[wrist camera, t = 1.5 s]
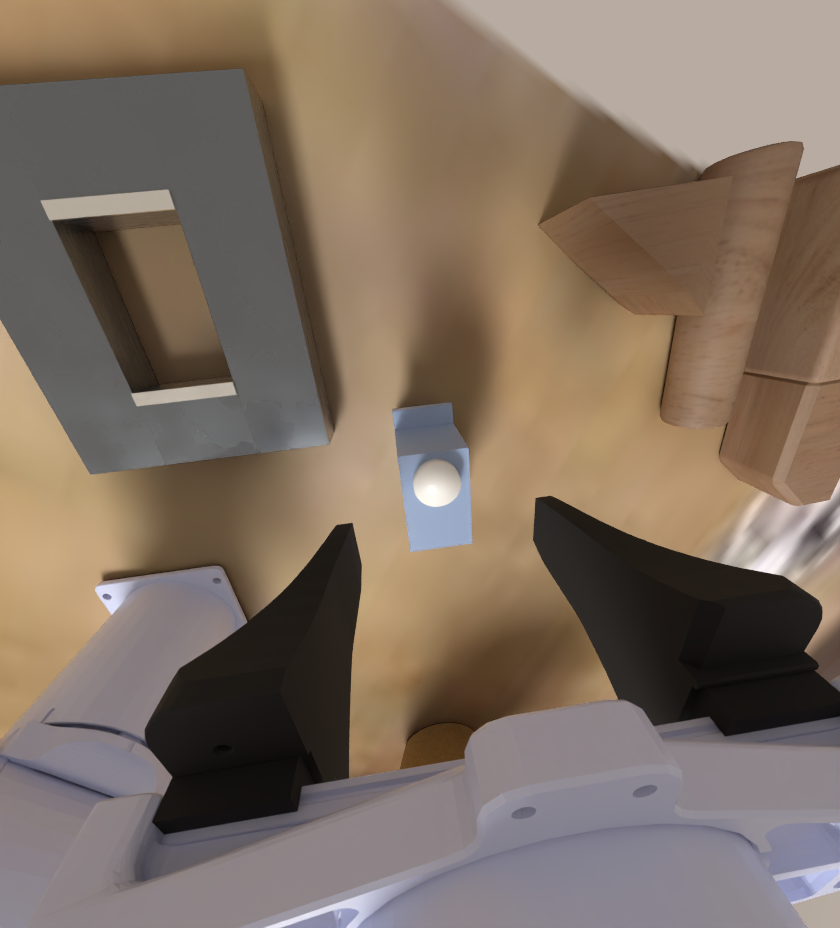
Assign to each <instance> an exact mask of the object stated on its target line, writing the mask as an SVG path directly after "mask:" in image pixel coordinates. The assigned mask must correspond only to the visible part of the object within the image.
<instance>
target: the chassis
mask: <svg viewBox="0 0 840 928" xmlns="http://www.w3.org/2000/svg"><path fill="white" fill-rule="evenodd" d="M175 224H181V225H182V228H183V231H184V234H185V237H186V240H187V243H188V246H189V249H190V252H191V255H192V258H193V261H194V264H195V267H196V270H197V273H198V276H199V279H200V282H201V285H202V288H203V291H204V294H205V297H206V301H207V304H208V307H209V310H210V313H211V316H212V319H213V322H214V325H215V328H216V331H217V334H218V337H219V340H220V343H221V346H222V349H223V352H224V355H225V358H226V361H227V364H228V367H229V370H230V373H231V376H229V377H220V378H211V379H203V380H194V381H185V382H176V383H168V384H158V382H157V380H156V377H155V375H154V373H153V370H152V368H151V366H150V363H149V361H148V359H147V356H146V354H145V352H144V349H143V347H142V345H141V342H140V340H139V338H138V335H137V333H136V331H135V328H134V326H133V324H132V321H131V319H130V317H129V314H128V312H127V310H126V307H125V305H124V303H123V300H122V298H121V296H120V293H119V291H118V289H117V286H116V284H115V282H114V279H113V277H112V275H111V272H110V270H109V268H108V265H107V263H106V261H105V258H104V256H103V254H102V251H101V249H100V247H99V244H98V242H97V240H96V237H95V235H94V233H93V232H99V231H110V230H121V229H131V228H142V227H153V226H164V225H175ZM0 320H1V321H2V323H3V325H4V327H5V328H6V330H7V332H8V333H9V335H10V337H11V339H12V340H13V342H14V344H15V345H16V347H17V349H18V351H19V352H20V354H21V356H22V358H23V359H24V361H25V363H26V364H27V366H28V368H29V370H30V371H31V373H32V375H33V376H34V378H35V380H36V382H37V383H38V385H39V387H40V389H41V390H42V392H43V394H44V395H45V397H46V399H47V401H48V402H49V404H50V406H51V407H52V409H53V411H54V413H55V414H56V416H57V418H58V419H59V421H60V423H61V425H62V426H63V428H64V430H65V432H66V433H67V435H68V437H69V438H70V440H71V442H72V444H73V445H74V447H75V449H76V450H77V452H78V454H79V456H80V457H81V459H82V461H83V463H84V464H85V466H86V468H87V469H88V471H89V473H90V475H91V474H99V473H107V472H115V471H123V470H131V469H139V468H146V467H154V466H162V465H170V464H178V463H186V462H194V461H202V460H210V459H218V458H226V457H234V456H242V455H250V454H258V453H265V452H273V451H281V450H289V449H297V448H305V447H313V446H321V445H329V444H330V441H331V439H332V436H333V434H334V428H333V424H332V419H331V415H330V410H329V405H328V401H327V396H326V392H325V387H324V383H323V378H322V373H321V369H320V364H319V360H318V355H317V350H316V346H315V341H314V337H313V332H312V328H311V323H310V318H309V314H308V309H307V305H306V300H305V296H304V291H303V286H302V282H301V277H300V273H299V268H298V264H297V259H296V254H295V250H294V245H293V241H292V236H291V231H290V227H289V222H288V218H287V213H286V209H285V204H284V199H283V195H282V190H281V186H280V181H279V177H278V172H277V167H276V163H275V158H274V154H273V149H272V144H271V140H270V135H269V131H268V126H267V122H266V117H265V112H264V108H263V103H262V100H261V98H260V97H259V95H258V93H257V92H256V90H255V88H254V86H253V85H252V83H251V81H250V80H249V78H248V76H247V74H246V73H245V71H244V69H243V68H240V69H226V70H212V71H198V72H184V73H169V74H155V75H141V76H127V77H113V78H98V79H84V80H70V81H56V82H42V83H27V84H13V85H0Z"/></svg>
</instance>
